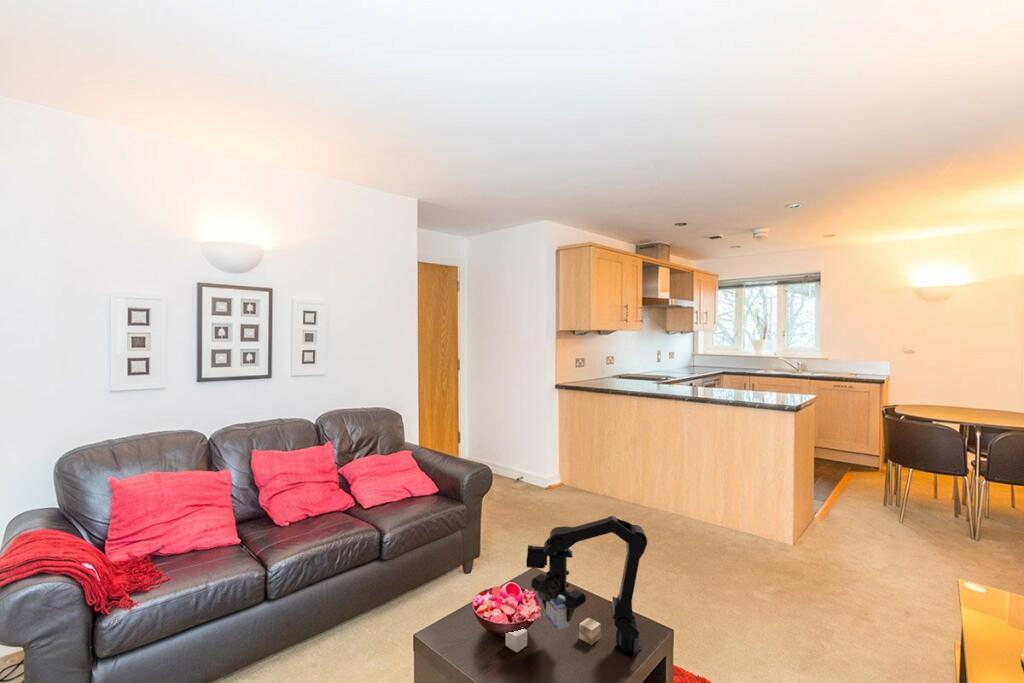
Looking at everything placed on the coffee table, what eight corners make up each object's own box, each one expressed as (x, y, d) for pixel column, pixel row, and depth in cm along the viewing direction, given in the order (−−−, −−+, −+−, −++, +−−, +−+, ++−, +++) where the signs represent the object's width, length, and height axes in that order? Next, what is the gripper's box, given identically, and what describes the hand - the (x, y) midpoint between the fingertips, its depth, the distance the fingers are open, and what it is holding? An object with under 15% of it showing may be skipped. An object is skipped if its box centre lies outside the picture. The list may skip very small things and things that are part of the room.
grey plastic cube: (527, 645, 156) (527, 630, 156) (516, 652, 152) (516, 637, 152) (516, 638, 159) (516, 623, 159) (505, 645, 155) (505, 630, 155)
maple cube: (600, 638, 160) (600, 623, 160) (591, 645, 156) (592, 630, 156) (587, 631, 163) (588, 617, 163) (579, 638, 160) (579, 623, 159)
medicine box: (545, 617, 159) (545, 591, 159) (556, 613, 161) (557, 588, 161) (557, 630, 152) (557, 603, 152) (569, 626, 154) (569, 600, 154)
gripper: (520, 567, 157) (519, 614, 157) (565, 588, 144) (565, 639, 144) (542, 556, 165) (541, 601, 165) (586, 575, 152) (586, 623, 152)
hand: (557, 615), depth 156 cm, fingers closed on medicine box, 9 cm apart
